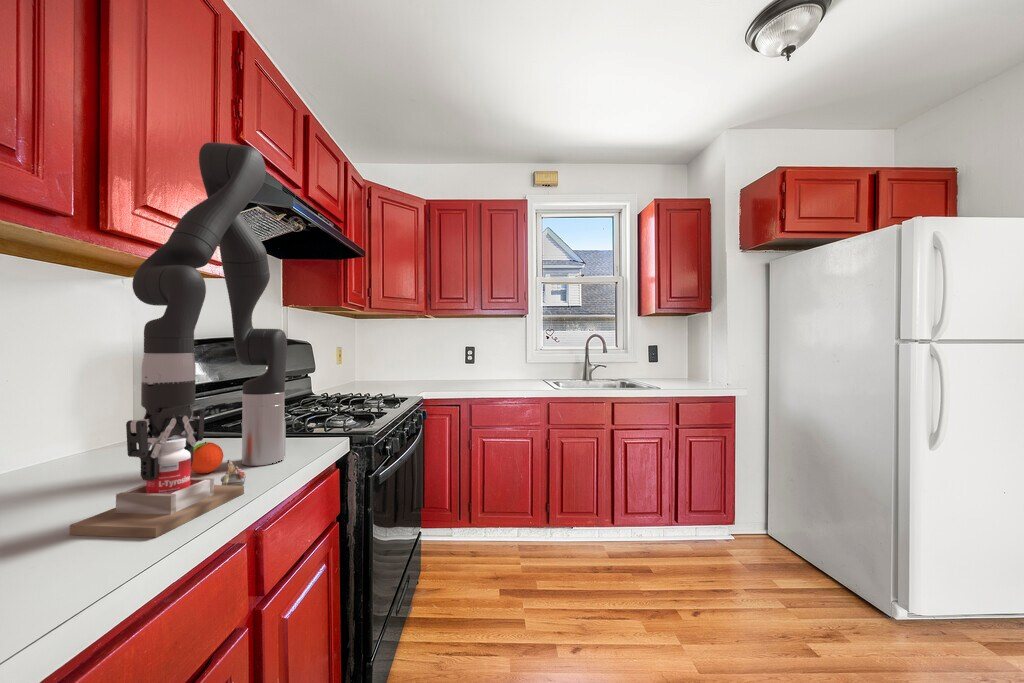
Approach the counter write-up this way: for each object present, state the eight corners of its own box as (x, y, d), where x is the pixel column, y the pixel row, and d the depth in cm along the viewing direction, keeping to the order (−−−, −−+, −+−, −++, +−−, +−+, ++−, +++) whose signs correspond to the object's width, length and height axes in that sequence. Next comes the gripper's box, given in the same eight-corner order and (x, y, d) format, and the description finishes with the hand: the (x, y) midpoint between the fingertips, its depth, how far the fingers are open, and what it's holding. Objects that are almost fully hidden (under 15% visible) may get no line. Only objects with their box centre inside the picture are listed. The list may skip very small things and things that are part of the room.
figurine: (232, 480, 95) (231, 453, 94) (252, 481, 94) (251, 455, 94) (214, 492, 89) (212, 464, 89) (235, 493, 89) (233, 465, 88)
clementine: (203, 479, 96) (203, 446, 96) (174, 478, 96) (174, 445, 97) (230, 469, 104) (230, 439, 104) (203, 468, 104) (203, 438, 104)
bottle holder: (176, 491, 88) (176, 468, 88) (244, 493, 87) (244, 470, 87) (69, 534, 68) (70, 505, 68) (155, 537, 67) (156, 508, 67)
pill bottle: (155, 511, 73) (156, 445, 74) (139, 504, 77) (139, 441, 77) (197, 500, 79) (197, 438, 79) (180, 494, 82) (180, 434, 82)
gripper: (182, 375, 85) (181, 462, 85) (109, 382, 71) (108, 486, 71) (219, 376, 85) (218, 462, 85) (153, 382, 70) (152, 487, 70)
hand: (168, 473), depth 78 cm, fingers open, 6 cm apart
